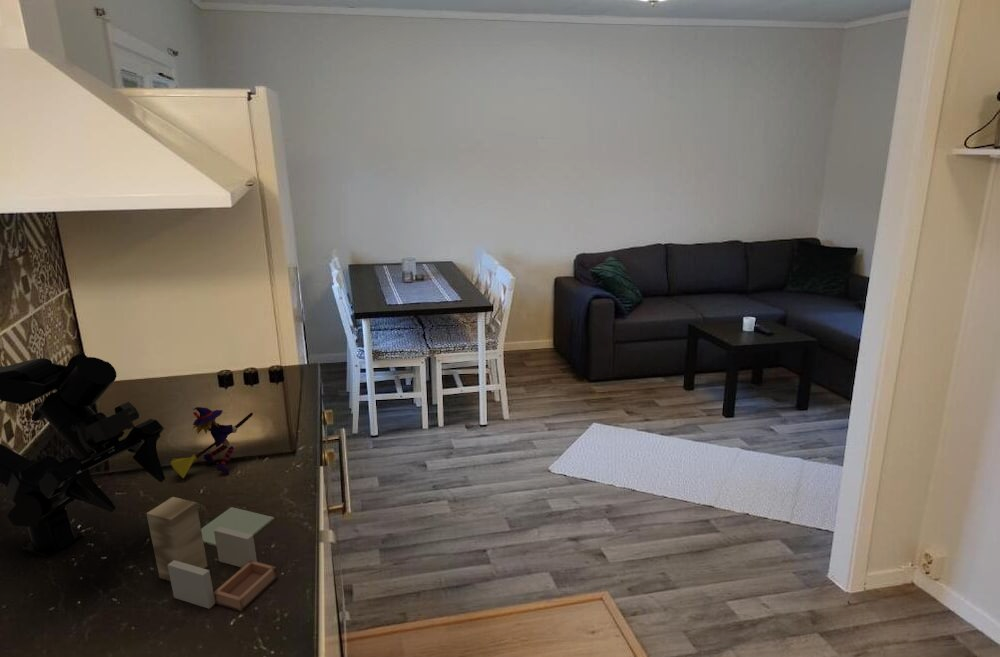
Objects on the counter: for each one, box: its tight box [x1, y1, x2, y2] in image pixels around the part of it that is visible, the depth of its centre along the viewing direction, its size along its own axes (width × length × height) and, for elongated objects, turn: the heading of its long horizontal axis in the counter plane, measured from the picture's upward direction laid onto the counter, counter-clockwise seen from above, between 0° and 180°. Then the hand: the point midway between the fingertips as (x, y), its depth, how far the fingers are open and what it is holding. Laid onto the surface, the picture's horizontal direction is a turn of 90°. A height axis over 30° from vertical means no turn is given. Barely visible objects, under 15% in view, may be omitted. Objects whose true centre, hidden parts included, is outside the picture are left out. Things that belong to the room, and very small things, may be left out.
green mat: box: [201, 506, 275, 547], centre depth 113 cm, size 10×10×1 cm
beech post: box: [146, 496, 208, 582], centre depth 100 cm, size 5×5×12 cm
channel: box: [168, 526, 258, 609], centre depth 99 cm, size 7×10×6 cm
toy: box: [170, 406, 254, 479], centre depth 132 cm, size 8×19×15 cm, turn 118°
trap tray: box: [213, 560, 278, 612], centre depth 97 cm, size 5×8×2 cm, turn 159°
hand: (139, 494), depth 101 cm, fingers open, 9 cm apart
